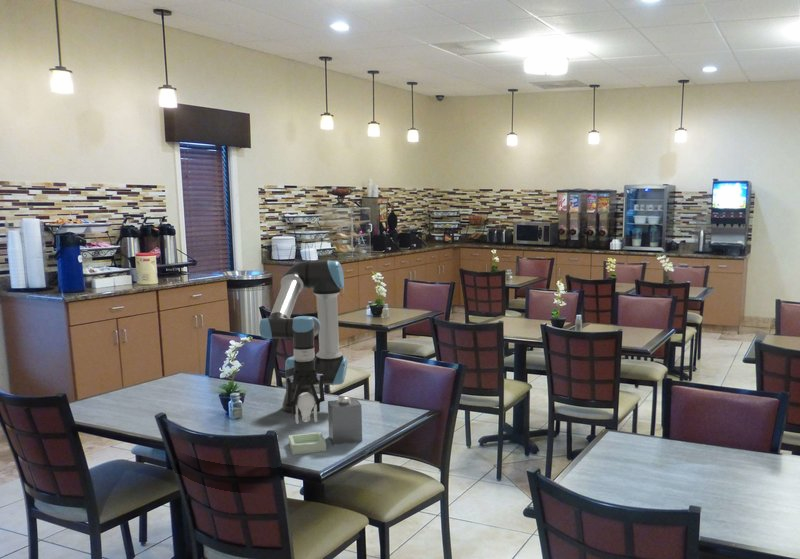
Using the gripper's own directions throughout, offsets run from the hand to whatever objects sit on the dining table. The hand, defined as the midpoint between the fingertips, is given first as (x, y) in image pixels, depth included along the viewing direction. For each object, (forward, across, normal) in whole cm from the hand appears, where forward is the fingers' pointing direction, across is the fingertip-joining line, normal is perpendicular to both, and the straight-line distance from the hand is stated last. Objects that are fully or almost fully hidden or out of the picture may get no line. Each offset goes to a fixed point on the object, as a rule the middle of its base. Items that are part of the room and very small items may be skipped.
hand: (306, 421), depth 249 cm
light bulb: (+1, 0, 0) cm, 1 cm away
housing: (+10, +15, +4) cm, 18 cm away
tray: (+10, 0, 0) cm, 10 cm away
